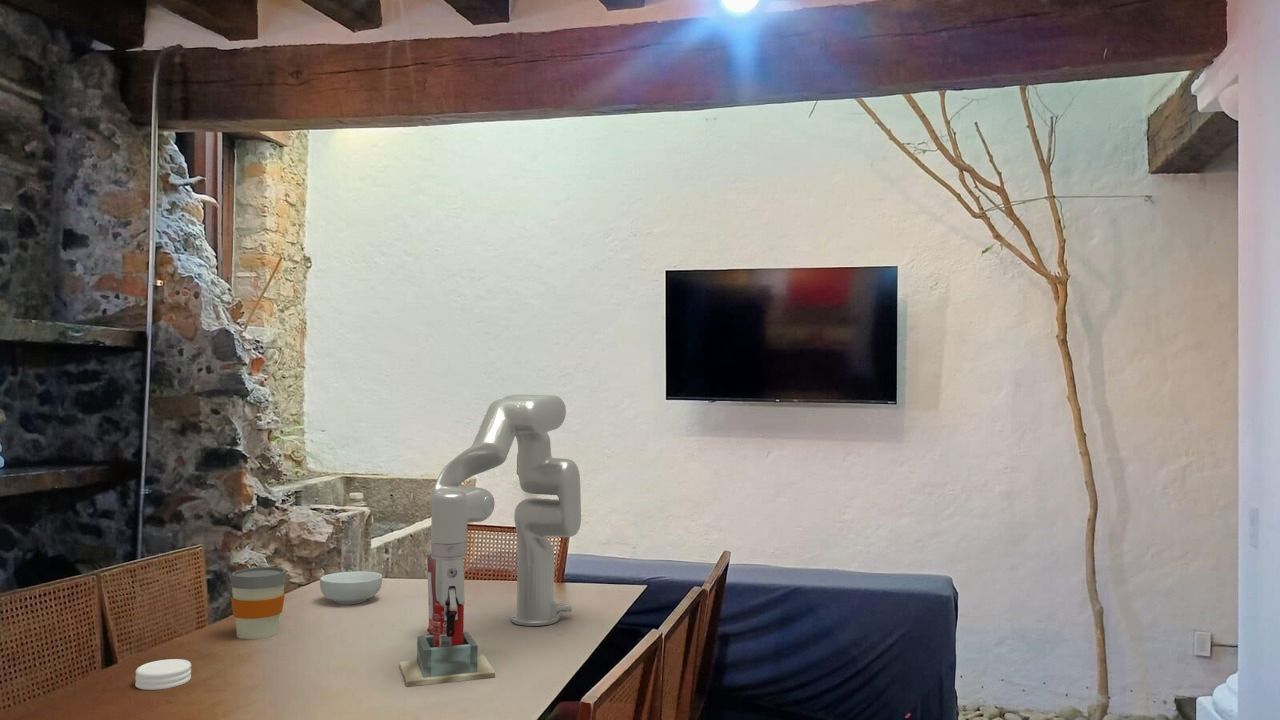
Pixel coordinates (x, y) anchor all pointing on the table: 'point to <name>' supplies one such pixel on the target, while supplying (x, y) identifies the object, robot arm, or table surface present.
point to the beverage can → (441, 627)
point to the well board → (445, 663)
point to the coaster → (163, 674)
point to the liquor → (431, 590)
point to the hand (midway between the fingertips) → (447, 634)
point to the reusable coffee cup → (257, 601)
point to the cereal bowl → (350, 586)
